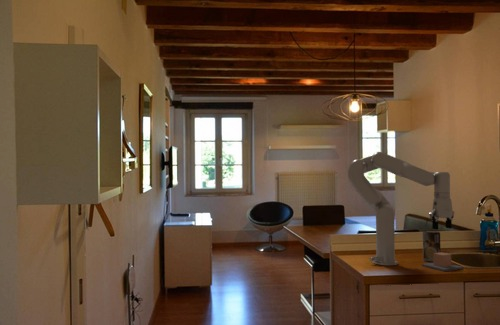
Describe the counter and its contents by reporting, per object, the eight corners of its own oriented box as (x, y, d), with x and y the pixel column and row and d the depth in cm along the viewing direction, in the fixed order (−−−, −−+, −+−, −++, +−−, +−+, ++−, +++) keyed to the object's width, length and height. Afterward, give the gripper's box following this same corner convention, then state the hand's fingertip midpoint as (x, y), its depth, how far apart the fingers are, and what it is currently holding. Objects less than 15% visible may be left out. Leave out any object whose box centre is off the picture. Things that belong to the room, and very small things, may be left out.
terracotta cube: (443, 267, 223) (442, 255, 223) (433, 264, 228) (433, 253, 228) (451, 266, 225) (451, 254, 226) (441, 263, 231) (441, 252, 231)
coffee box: (440, 260, 246) (440, 231, 246) (440, 262, 240) (440, 232, 240) (422, 258, 249) (422, 230, 249) (422, 261, 243) (422, 232, 243)
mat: (444, 271, 217) (444, 269, 217) (422, 265, 230) (422, 264, 230) (463, 268, 224) (463, 266, 224) (440, 263, 236) (440, 261, 236)
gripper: (436, 196, 220) (436, 230, 220) (459, 195, 228) (459, 228, 228) (424, 195, 227) (424, 228, 227) (447, 194, 235) (447, 226, 234)
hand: (442, 228), depth 227 cm, fingers open, 9 cm apart
